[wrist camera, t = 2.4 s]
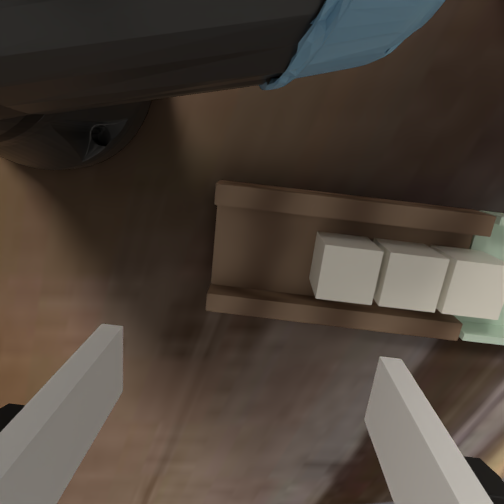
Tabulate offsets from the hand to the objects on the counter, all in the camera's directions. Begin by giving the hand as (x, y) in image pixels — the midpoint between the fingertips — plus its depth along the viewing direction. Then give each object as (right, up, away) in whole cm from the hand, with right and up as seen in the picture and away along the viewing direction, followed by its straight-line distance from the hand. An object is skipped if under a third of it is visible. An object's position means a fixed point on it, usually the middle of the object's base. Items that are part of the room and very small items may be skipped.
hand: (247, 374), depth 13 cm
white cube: (+12, +3, +16) cm, 20 cm away
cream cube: (+16, +3, +16) cm, 23 cm away
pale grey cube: (+7, +4, +16) cm, 18 cm away
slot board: (+7, +4, +17) cm, 19 cm away
